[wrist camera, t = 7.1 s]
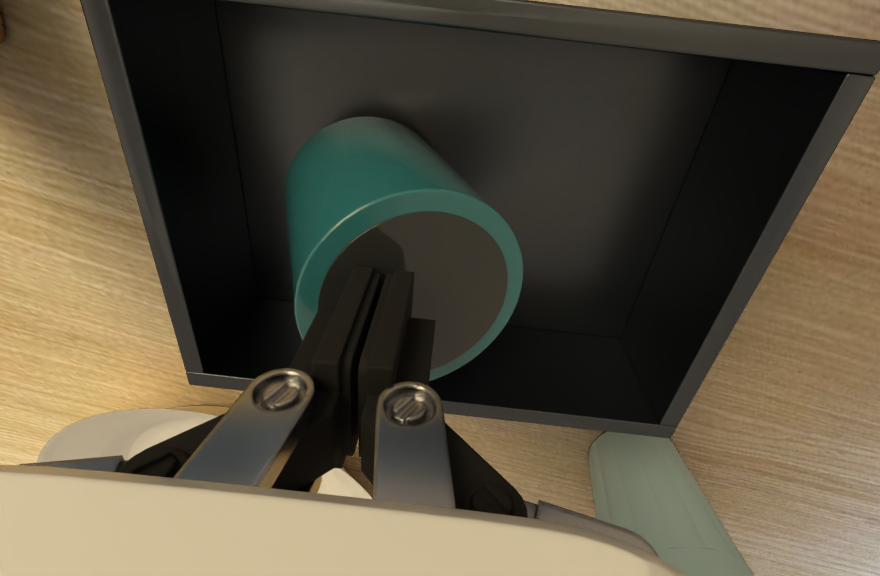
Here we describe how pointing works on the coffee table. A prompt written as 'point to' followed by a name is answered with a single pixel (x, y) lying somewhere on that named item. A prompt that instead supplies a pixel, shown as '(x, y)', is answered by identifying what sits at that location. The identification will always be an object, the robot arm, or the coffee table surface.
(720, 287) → the dark grey shallow box
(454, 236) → the pot
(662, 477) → the cup
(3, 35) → the wooden block
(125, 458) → the white plate
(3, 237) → the coffee table surface
